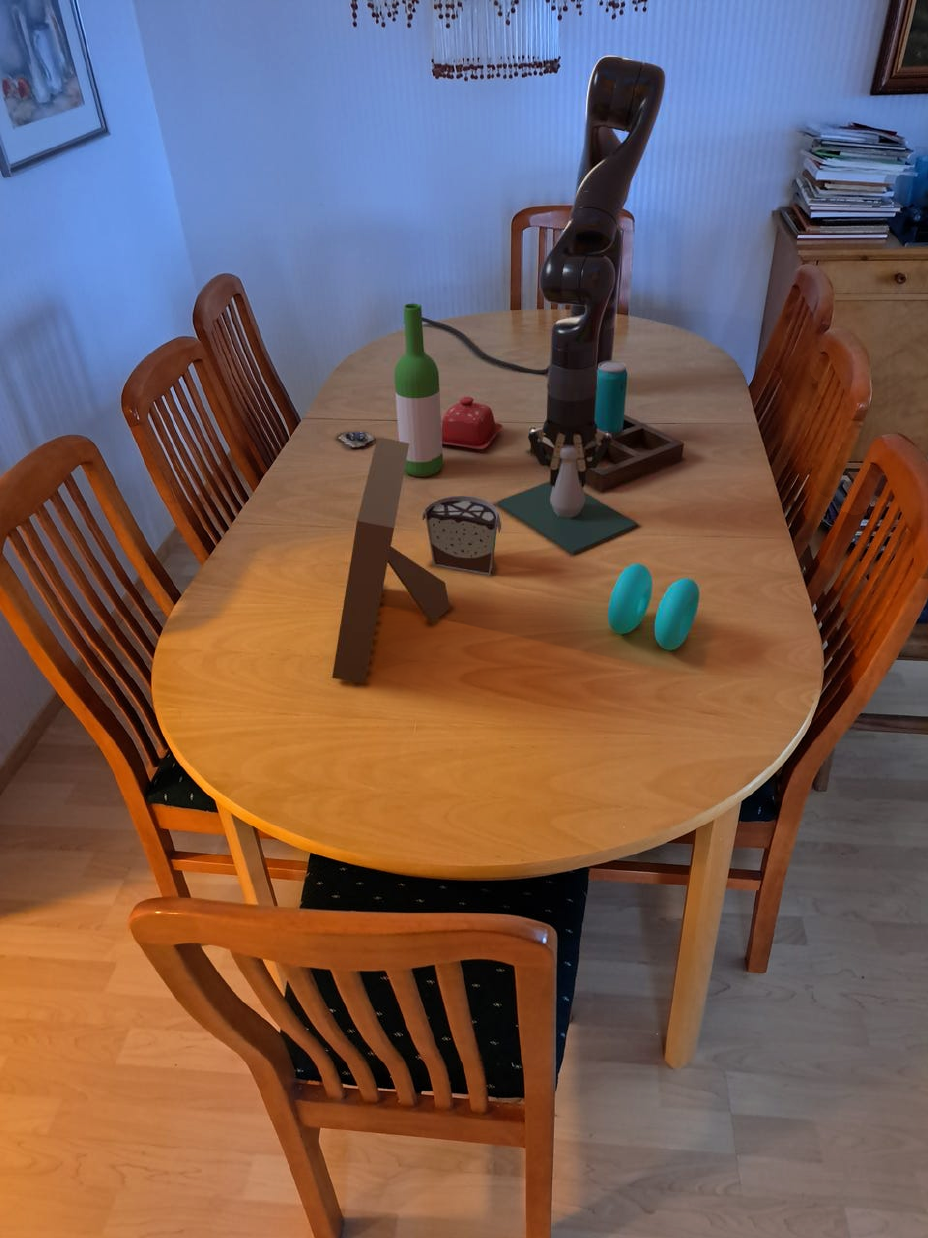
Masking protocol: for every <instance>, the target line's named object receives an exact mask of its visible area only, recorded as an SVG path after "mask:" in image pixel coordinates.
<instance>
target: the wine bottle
mask: <svg viewBox="0 0 928 1238" xmlns="http://www.w3.org/2000/svg"><path fill="white" fill-rule="evenodd" d="M422 312H423V311H422V305H421V304H419V303H416V302H415V303H407V304H405V305H404V306H403V319H404V321H403V322H405V323H404V334H405V335H404V336H405V337H404V338H405V353H404V354H403V355H402V356H401V357H400V358H399V359H398V361H397V362H396V366H395V367H394V374H393V375H394V376H393V377H394V386H395V387H394V388H395V389H394V390H395V391H394V393H395V405H396V406H395V407H396V417H397V419H396V420H397V432H398V433H397V434H398V441H400V442H405V443H409V448H408V454H407V460H406V465H405V471H404V473H406V474H407V475H409V476H413V477H417V478H418V477H419V478H424V477H430V476H433V475H435V474H437V473H438V472H439V471H440V470H441V469H442V467H443V463H444V461H443V460H444V458H443V444H442V432H441V428H442V417H441V416H442V415H441V412H442V411H441V391H440V389H441V388H440V374H439V368H438V365H437V363H436V361H435V360H434V359H433V358H432V356H431V355H429V354H428V353H426V351H425V345H424V330H423V321H422V317H423V314H422Z"/></svg>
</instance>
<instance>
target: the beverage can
mask: <svg viewBox="0 0 928 1238" xmlns="http://www.w3.org/2000/svg"><path fill="white" fill-rule="evenodd" d="M627 384H628V371H627V364H626V363H625V362H623V361H619V360H612V361H604V362H601V363H599V365H598V370H597V392H596V407H595V423H596V425H597V429H599V430H601V431H603V432H606V431H610V432H611V433H612V434H614V433H617V432H620V431H623V420H624V414H625V408H626V398H627V397H626V395H627Z"/></svg>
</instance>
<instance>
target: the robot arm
mask: <svg viewBox="0 0 928 1238" xmlns="http://www.w3.org/2000/svg"><path fill="white" fill-rule="evenodd" d="M665 87H666V74H665V71H664V69H663V68H662V67H661V66H659V65H656V64H653V63H650V62H645V61H641V60H636V59H630V58H626V57H623V56H617V55H605V56H603V57H601V58H600V59H598V61H597V62H596V64H595V65H594V67H593V69H592V72H591V74H590V78H589V82H588V87H587V93H586V100H585V101H586V103H585V114H584V115H585V116H584V117H585V118H584V135H583V146H582V151H581V155H580V162H579V166H578V172H577V179H576V184H575V194H574V201H573V205H572V208H571V211H570V215H569V218H568V222H567V224H566V226H565V228H564V229H563V231H562V232H561V234H560V236H559V238H558V240H557V241H556V242H555V244H554V245H553V247H552V248H551V250H550V251H549V253H548V255H547V257H546V258H545V260H544V262H543V265H542V266H541V270H540V273H539V282H538V283H539V290H540V293H541V295H542V297H543V298H544V299H545V301H547V302H549V303H551V304H556V305H567V306H570V309H569V311H570V313H569V317H564V318H560V319H558V320H556V321H555V322H554V324H553V325H552V327H551V331H550V353H549V354H550V355H549V365H548V366H547V367H546V368H544V369H532V368H527V367H524V366H521V365H517V364H514V363H511V362H507V361H504V360H500V359H499V358H495V357H493V356H491V355H489V354H487V353H485V352H484V351H482V350H481V349H480V348H479V347H478V346H476V344H475V343H473V342H472V340H470V339H469V338H468V336H466V334H464V333H463V332H462V331H460V330H458V329H457V328H455V327H453V326H451V325H448V324H446V323H442V322H438V321H435V320H431V319H429V318H426V317H423V316H422V323H426V324H429V325H432V326H435V327H439V328H442V329H446V330H448V331H450V332H452V333H454V334H456V335H457V336H458V337H460V338H461V339H462V340H463V341H464V342H465V343H466V344H467V345H468V346H469V347H470V348H471V349H472V350H473V351H474V352H475V353H477V354H478V355H479V356H480V357H482V358H483V359H485V360H487V361H489V362H492V363H494V364H496V365H499V366H503V367H506V368H508V369H509V368H510V369H513V370H517V371H519V372H523V373H529V374H534V375H535V374H536V375H546V374H547V383H546V389H547V396H546V398H547V400H546V420H545V422H544V423H543V426H540V427H537V428H536V427H531V428H530V429H529V430H528V436H527V439H528V442H529V443H530V447H531V446H532V448H533V450H534V452H535V454H534V455H535V457H536V459H537V462H538V463H539V465H540V466H541V467H545V466H546V467H548V468H549V469H550V475H549V476H550V478H549V479H550V480H549V482H550V484H551V486H554V488H555V484H556V480H557V477H558V473H559V470H558V464H559V459H560V452H561V449H562V447H563V445H575V449H576V450H577V453H578V456H577V458H576V459H577V464H578V470H579V471H578V472H577V473H578V477H579V482H581V486H582V488H583V489H584V487H585V485H586V483H585V476H586V470H587V469H589V468H592V469H594V468H596V467H597V466H599V463H600V462H601V461H602V460H601V458H602V457H603V455H604V453H605V452H606V450H607V448H608V446H609V445H610V443H611V437H612V433H611V432H610V431H606V432H603V431H601V430H599V429H597V425H596V423H595V407H596V392H597V370H598V365H599V363H601V362H604V361H613V357H614V356H613V354H614V343H615V342H614V340H615V327H616V316H617V315H616V313H617V300H618V288H619V278H620V270H621V263H622V256H623V232H622V230H621V228H620V227H619V226H618V225H619V222H620V218H621V214H622V211H623V208H624V207H625V204H626V203H627V201H628V196H629V194H630V189H631V185H632V181H633V179H634V177H635V175H636V172H637V169H638V167H639V165H640V164H641V163H640V162H641V160H642V158H643V155H644V153H645V150H646V148H647V145H648V143H649V140H650V137H651V135H652V133H653V130H654V127H655V125H656V122H657V119H658V116H659V112H660V109H661V106H662V102H663V98H664V94H665V89H666V88H665ZM614 130H617V131H621V132H626V133H628V134H627V135H626V137H625V139H623V141H622V142H621V140H620V139H619V137H618V135H617V133H616V132H615V131H614ZM403 324H405V321H403ZM543 434H545V435H546V436H547V437H548V439H549V440H550V441H551V443H552V444H553V445H554V451H553V455H552V456H549V455H548V454H547V452H546V449H545V447H544V445H543V443H542V441H543ZM594 436H595V437H596V438H597V439H596V444H597V447H596V449H595V450H594V452H593V454H592V456H591V457H589V458H586V453H585V446H586V445H587V444H588V443H589V442H590V441H591V440H592V438H593V437H594ZM579 452H580V453H579Z"/></svg>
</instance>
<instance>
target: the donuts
mask: <svg viewBox="0 0 928 1238" xmlns="http://www.w3.org/2000/svg"><path fill="white" fill-rule="evenodd" d="M652 593H653V578H652V574H651V572H650V570H649V569H648V567H646V566H645V565H643V564H641V563H632V564H630V565H628V566H626V567H625V568H624V569H623V571H622V572H621V573H620V575H619V576H618V578H617V579H616V582H615V584H614V586H613V589H612V591H611V594H610V599H609V602H608V607H607V622H608V625H609V628H610V629H611V630H612V631H613V632H614V633H616V634H620V635H624V634H625V635H626V634H629V633H631V632H632V631H634V630H635V629H636V628H638V626H640V623H641V622H642V621H643V619H644V617H645V615H646V613H647V611H648V608H649V605H650V603H651V598H652ZM661 598H662V599H661V601H660V603H659V605H658V608H657V611H656V614H655V620H654V637H655V640H656V642H657V643H658V645H659V646H660V647H661V648H662V649H664V650H667V651H673V650H676V649H679V647H681V645H683V643H684V642H685V641H686V639H687V637H688V636H689V634H690V631H691V629H692V627H693V624H694V622H695V619H696V616H697V611H698V608H699V601H700V588H699V585H698V584H697V582H695V580H694V579H692V578H690V577H689V578H688V577H684V578H683V577H682V578H679V579H678V580H676V581H674V582H673V583H672V584H670V585H669V587H668V588H667V589H666V591H665V592H664V594H663V596H662V597H661Z"/></svg>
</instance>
